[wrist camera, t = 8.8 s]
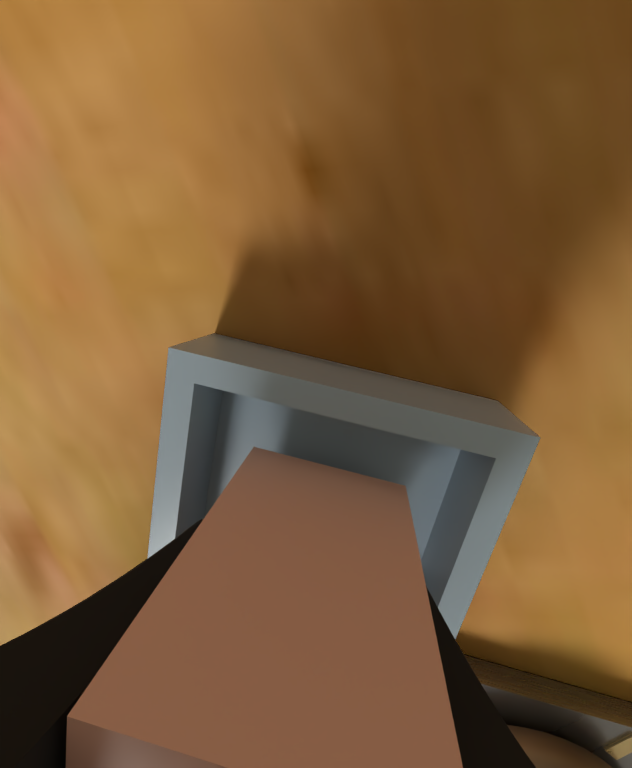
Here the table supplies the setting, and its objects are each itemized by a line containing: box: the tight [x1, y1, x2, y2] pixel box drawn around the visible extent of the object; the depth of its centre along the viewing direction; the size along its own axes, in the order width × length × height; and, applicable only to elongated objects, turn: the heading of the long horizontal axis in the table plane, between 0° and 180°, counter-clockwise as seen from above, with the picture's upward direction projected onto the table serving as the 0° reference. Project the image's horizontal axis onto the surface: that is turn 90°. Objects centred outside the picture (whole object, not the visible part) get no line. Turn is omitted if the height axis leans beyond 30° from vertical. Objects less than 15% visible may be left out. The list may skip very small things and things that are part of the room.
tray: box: [148, 333, 540, 639], centre depth 12 cm, size 10×10×3 cm
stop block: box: [66, 447, 463, 768], centre depth 8 cm, size 4×4×7 cm
